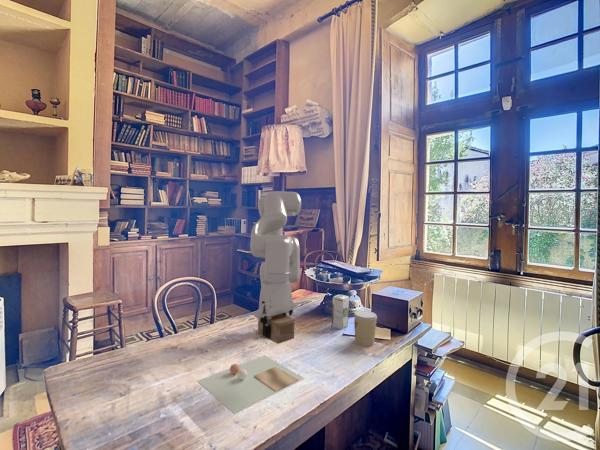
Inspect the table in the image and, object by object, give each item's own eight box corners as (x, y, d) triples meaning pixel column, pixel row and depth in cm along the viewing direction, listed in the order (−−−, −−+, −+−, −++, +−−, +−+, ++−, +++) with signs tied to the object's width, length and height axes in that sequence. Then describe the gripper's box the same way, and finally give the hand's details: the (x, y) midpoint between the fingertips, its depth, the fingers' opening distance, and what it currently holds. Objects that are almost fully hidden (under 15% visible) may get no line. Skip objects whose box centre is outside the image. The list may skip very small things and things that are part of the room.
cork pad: (275, 367, 106) (275, 366, 106) (298, 380, 99) (298, 379, 99) (253, 376, 100) (253, 375, 100) (276, 391, 92) (276, 390, 92)
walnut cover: (257, 333, 100) (258, 315, 100) (273, 328, 105) (274, 310, 104) (278, 343, 93) (278, 323, 93) (294, 338, 97) (294, 319, 97)
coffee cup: (356, 336, 138) (357, 309, 137) (378, 340, 134) (379, 312, 133) (350, 344, 129) (351, 315, 129) (373, 349, 125) (374, 319, 125)
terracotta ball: (236, 370, 104) (236, 361, 104) (241, 373, 102) (241, 364, 102) (228, 373, 102) (228, 364, 102) (233, 377, 100) (233, 367, 100)
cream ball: (243, 375, 101) (243, 366, 101) (249, 379, 99) (249, 369, 99) (235, 378, 99) (235, 369, 99) (240, 382, 97) (241, 373, 96)
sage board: (264, 358, 115) (264, 355, 115) (304, 382, 100) (305, 378, 100) (196, 384, 97) (196, 380, 97) (234, 418, 82) (234, 414, 82)
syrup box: (337, 323, 153) (338, 293, 152) (348, 326, 149) (349, 296, 148) (331, 326, 148) (332, 296, 147) (342, 329, 144) (343, 298, 144)
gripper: (289, 272, 107) (288, 324, 107) (246, 279, 95) (245, 337, 96) (305, 276, 101) (303, 330, 102) (261, 283, 89) (260, 346, 90)
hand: (275, 333), depth 99 cm, fingers closed on walnut cover, 6 cm apart
